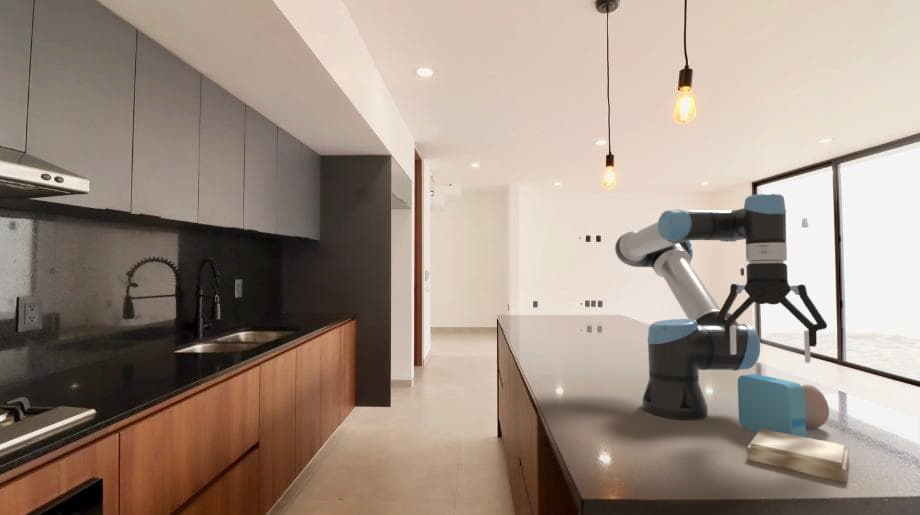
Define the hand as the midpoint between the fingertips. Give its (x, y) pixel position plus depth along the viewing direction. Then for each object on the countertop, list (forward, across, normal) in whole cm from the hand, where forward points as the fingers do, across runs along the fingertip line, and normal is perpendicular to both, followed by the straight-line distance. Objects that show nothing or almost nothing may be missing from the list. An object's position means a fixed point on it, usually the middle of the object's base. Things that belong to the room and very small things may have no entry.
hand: (768, 357), depth 97 cm
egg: (+17, +6, +10) cm, 21 cm away
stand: (+16, +6, -14) cm, 23 cm away
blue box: (+17, 0, 0) cm, 17 cm away
